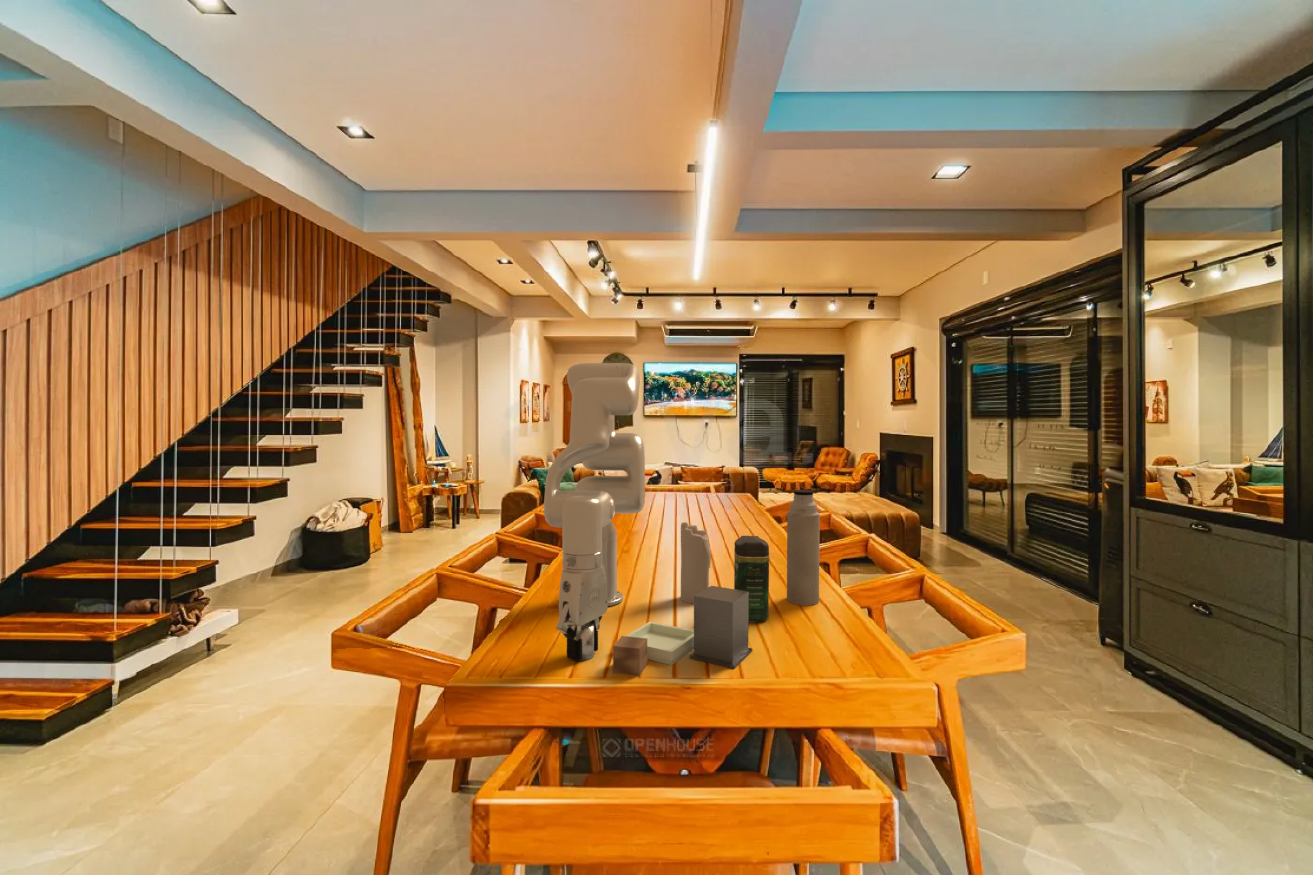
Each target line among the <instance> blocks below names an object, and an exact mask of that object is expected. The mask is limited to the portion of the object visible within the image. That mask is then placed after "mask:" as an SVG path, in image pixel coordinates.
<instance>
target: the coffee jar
mask: <svg viewBox="0 0 1313 875" xmlns="http://www.w3.org/2000/svg"><path fill="white" fill-rule="evenodd" d="M733 544H734V549H733V550H734V553H733V554H734V558H733V560H734V569H733V571H734V573H733V575H734V578H733V579H734V581H733V589H736V590H742V591H749V611H748V623H759V622H762V621H767V620H768V619H769V602H770V600H769V599H770V598H769V596H770V593H769V591H770V545H769V543H768V542H767V541H766V540H764V539H763V538H760V537H759V536H758V535H741V536H740V537H738V538H737V539H735V541H734V543H733Z"/></svg>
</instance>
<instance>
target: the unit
mask: <svg viewBox="0 0 1313 875" xmlns="http://www.w3.org/2000/svg"><path fill="white" fill-rule="evenodd" d="M748 611H749V591H742V590H736V589H734V588H729V587H722V586H715V585H709V587H708V588H707V589H705V590H703V591H701V592H700V593H698V594H696V595H695V596H694V603H693V630H694V649H693V652H692V653H691V654H689V659H690V660H695V661H699V662H703V663H708V664H712V665H717V666H720V667H721V666H722V667H725V668H730V669H733V670H735V669H736V668H737V666H739V665H740V664H741V663H742V662H743V661H744V660H745V659H746V658H747V657H748V656H749V655H750V654H751V653H752V652H753V648H751V647H749V622H748Z"/></svg>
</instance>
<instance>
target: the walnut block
mask: <svg viewBox="0 0 1313 875" xmlns="http://www.w3.org/2000/svg"><path fill="white" fill-rule="evenodd" d="M612 654H613V655H612V665H613V667H612V670H613V671H612V673H613V674H622V675H630V676H639V677H640V676H641V675H642V673H643V672H644V670H646V668H647V666H648V659H647V638H638V637H628V636H626V635H621V636H620V638H619V639H617V641H616V642H615V643H614V644H613V646H612Z"/></svg>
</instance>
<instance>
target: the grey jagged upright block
mask: <svg viewBox="0 0 1313 875" xmlns="http://www.w3.org/2000/svg"><path fill="white" fill-rule="evenodd" d="M680 556H681V557H680V561H681V562H680V601H682V602H684V603H688V604H689V603H690V604H694V596H695V595H696V594H698V593H700V592H701V591H703V590H705V589H707V588H708V587H710V568H711V563H712V562H711V560H712V557H711V556H712V553H711V549H710V539H709V535H707V532H706V530H704V529H701V530H699V527H698V526H697V525H694V524H693V525H692V524H691V525H689V523H688V522H687V521H684V522H681V524H680Z"/></svg>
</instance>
